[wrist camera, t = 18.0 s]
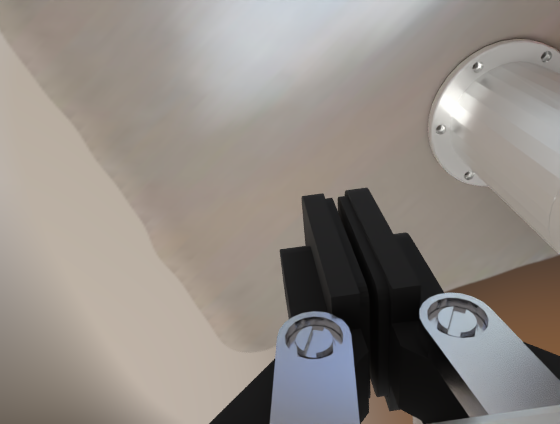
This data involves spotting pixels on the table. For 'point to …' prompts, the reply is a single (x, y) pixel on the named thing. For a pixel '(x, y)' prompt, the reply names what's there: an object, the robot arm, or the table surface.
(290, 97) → the table surface
